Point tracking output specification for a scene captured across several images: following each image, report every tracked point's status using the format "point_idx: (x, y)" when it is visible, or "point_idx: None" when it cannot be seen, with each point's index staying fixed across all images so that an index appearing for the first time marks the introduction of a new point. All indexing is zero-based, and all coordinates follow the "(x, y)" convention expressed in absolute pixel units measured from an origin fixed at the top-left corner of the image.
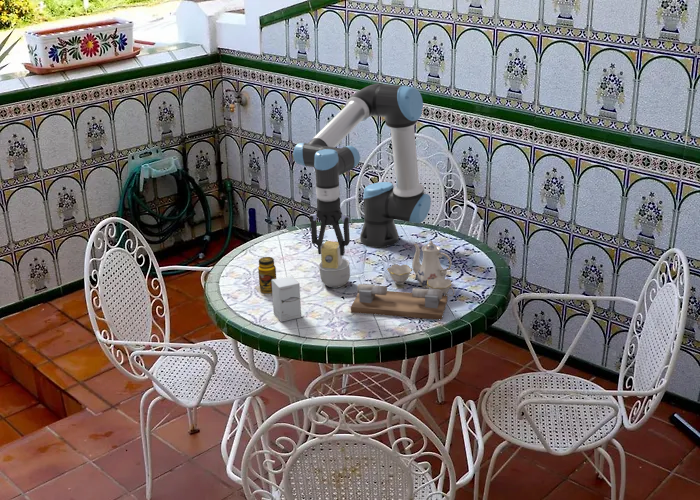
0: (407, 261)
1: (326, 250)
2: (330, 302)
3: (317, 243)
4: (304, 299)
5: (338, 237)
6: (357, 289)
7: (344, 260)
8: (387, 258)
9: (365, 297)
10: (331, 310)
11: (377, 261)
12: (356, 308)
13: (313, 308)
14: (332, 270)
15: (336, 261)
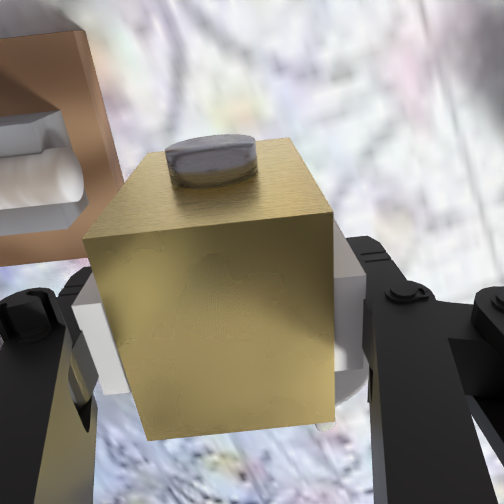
0: (106, 491)
1: (245, 209)
2: (240, 118)
3: (431, 299)
4: (382, 113)
5: (2, 456)
6: (60, 150)
7: None
8: (179, 492)
9: (11, 120)
10: (198, 23)
11: (202, 471)
12: (41, 34)
13: (304, 18)
14: None
15: (133, 174)
